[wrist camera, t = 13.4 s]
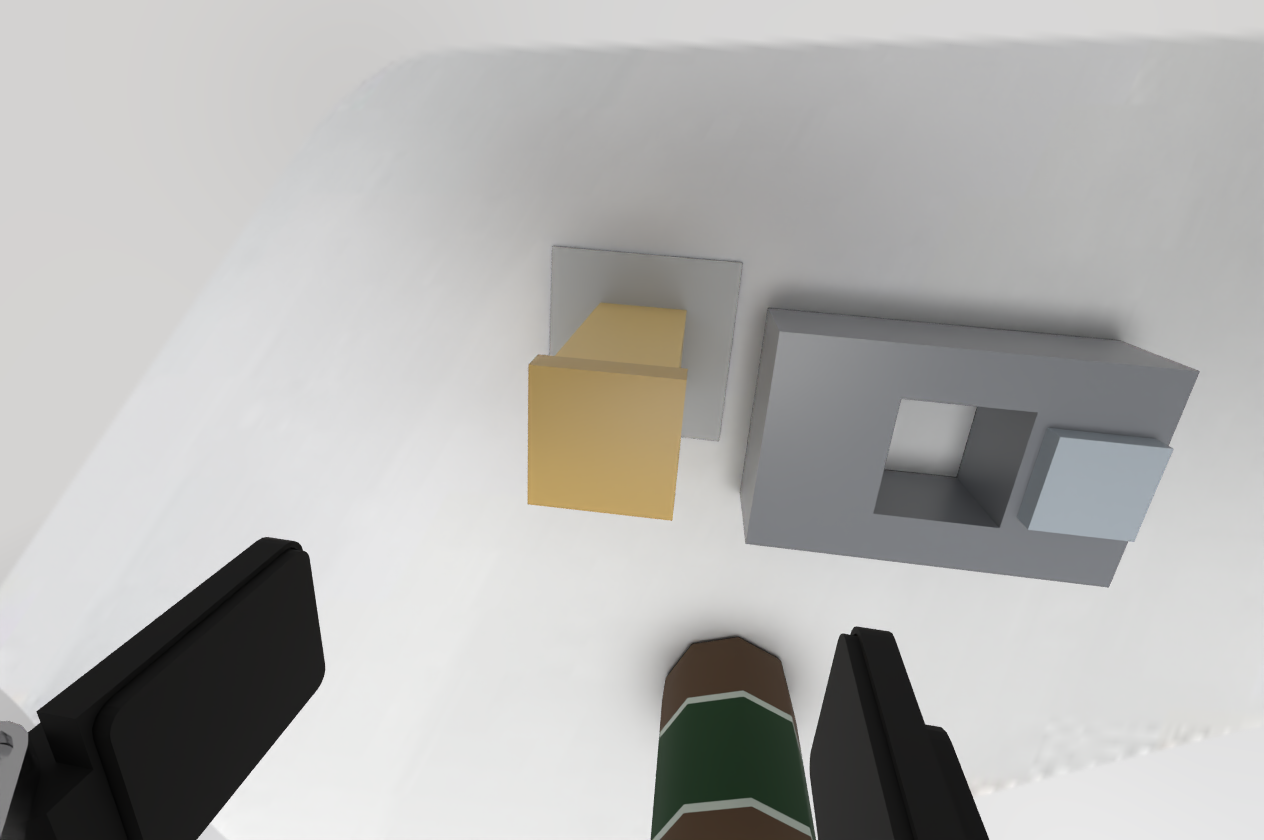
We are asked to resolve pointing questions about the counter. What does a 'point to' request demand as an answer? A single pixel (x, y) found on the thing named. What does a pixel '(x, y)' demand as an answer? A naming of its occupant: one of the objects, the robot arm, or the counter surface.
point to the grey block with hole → (993, 458)
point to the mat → (661, 285)
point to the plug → (609, 414)
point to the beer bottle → (729, 749)
